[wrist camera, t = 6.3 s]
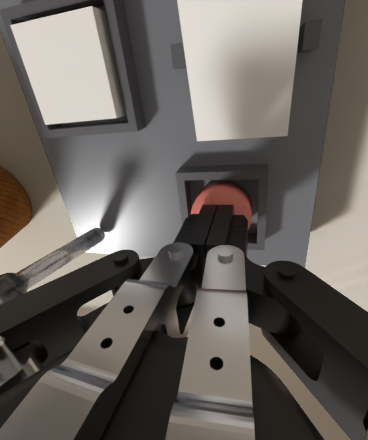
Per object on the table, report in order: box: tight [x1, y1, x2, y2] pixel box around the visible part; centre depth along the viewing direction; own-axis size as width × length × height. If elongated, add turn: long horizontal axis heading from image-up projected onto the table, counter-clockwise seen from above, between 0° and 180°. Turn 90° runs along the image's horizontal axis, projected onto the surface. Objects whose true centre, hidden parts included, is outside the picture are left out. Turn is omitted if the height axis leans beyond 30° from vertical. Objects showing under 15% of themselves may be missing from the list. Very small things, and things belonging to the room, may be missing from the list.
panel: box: [0, 0, 345, 268], centre depth 13 cm, size 16×15×4 cm
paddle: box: [10, 6, 127, 125], centre depth 12 cm, size 4×4×1 cm
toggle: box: [0, 228, 105, 305], centre depth 14 cm, size 2×2×7 cm
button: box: [191, 181, 252, 229], centre depth 13 cm, size 3×3×1 cm
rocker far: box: [177, 0, 303, 141], centre depth 9 cm, size 6×4×2 cm, turn 7°
